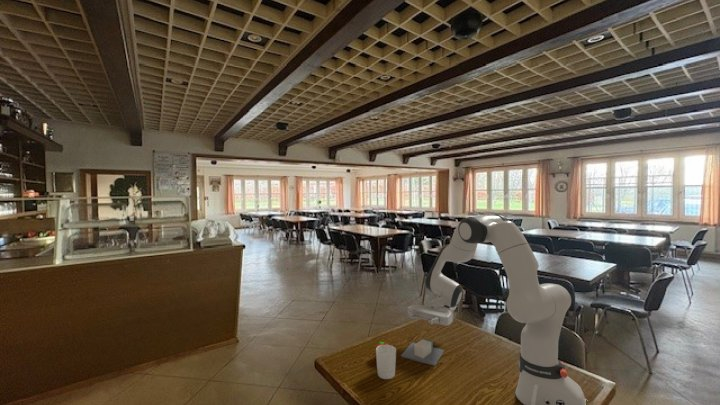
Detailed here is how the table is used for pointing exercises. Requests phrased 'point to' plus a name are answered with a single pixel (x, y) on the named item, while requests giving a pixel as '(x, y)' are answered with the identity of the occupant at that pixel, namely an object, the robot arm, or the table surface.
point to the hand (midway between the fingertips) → (420, 319)
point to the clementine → (382, 343)
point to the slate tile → (429, 359)
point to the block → (423, 348)
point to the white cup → (386, 361)
